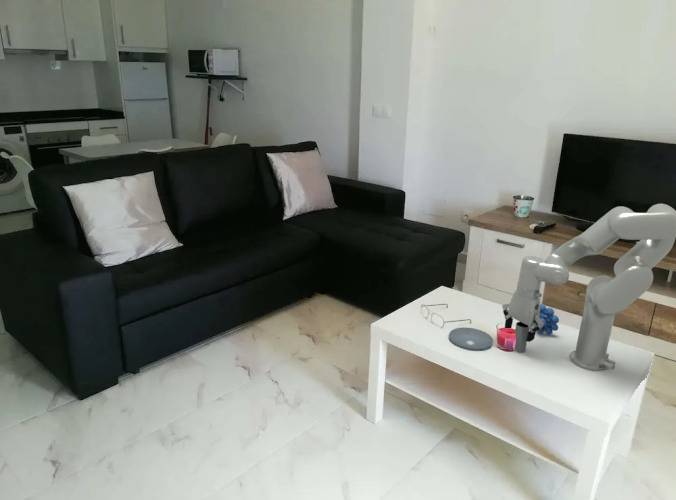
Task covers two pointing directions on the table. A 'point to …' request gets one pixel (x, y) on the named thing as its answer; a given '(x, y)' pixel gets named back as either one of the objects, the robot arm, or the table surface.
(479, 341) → the dish
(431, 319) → the eyeglasses
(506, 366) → the table surface
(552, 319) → the grapes
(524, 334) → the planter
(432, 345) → the table surface
